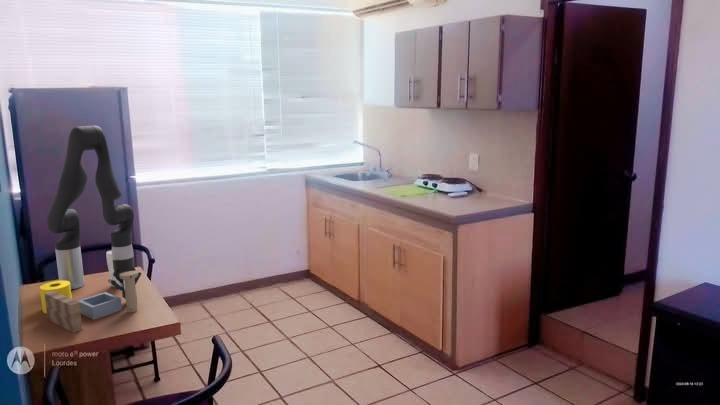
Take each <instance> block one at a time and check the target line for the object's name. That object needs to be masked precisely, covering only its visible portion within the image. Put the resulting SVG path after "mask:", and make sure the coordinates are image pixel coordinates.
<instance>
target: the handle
mask: <svg viewBox="0 0 720 405" xmlns="http://www.w3.org/2000/svg"><path fill="white" fill-rule="evenodd" d="M138 272H139V271H138V270H136V271H128V272H123V273H121V274H120V278H121V279H123V280H125V297H126V299H125V303H126V304H125V305H126V309H127V312H128V313H135V312H136V311H137V312H138V294H137V289H136V285H135V278H136V277H137V276H138V275H139V274H138Z"/></svg>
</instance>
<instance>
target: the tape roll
mask: <svg viewBox="0 0 720 405" xmlns="http://www.w3.org/2000/svg"><path fill="white" fill-rule="evenodd" d="M51 291H55V292H57V293H59V294H61V295H64V296H66V297H68V298H70V299H73V296H72V289H71V286H70V282H69V281H59V280H54V281H50V282H46V283H43V284H41V285H40V286H39V293H40V300H41V301H40V302H41V308H42V312H43V313H44V314H47V310H46V302H45V295H44V293H47V292H51Z"/></svg>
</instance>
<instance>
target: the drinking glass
mask: <svg viewBox="0 0 720 405" xmlns="http://www.w3.org/2000/svg"><path fill="white" fill-rule="evenodd" d="M105 255H106V264H107V268H108V273H109V278H110V279H111V278H112V277H113V273H114V269H113V260H112V249H110V250H107V251H106V254H105ZM116 280H117V279H116ZM116 283H117V284H119V281H118V280H117V282H116ZM119 285H120V284H119ZM111 287H112V288H115V287H114V286H113V285H111Z"/></svg>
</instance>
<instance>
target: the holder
mask: <svg viewBox="0 0 720 405" xmlns="http://www.w3.org/2000/svg"><path fill="white" fill-rule="evenodd" d="M76 301H77V302H79V305H80V313H81V315H82V316H85V317H87V318H89V319H91V320H97V319H100V318H102V317H105V316H109V315H111V314H114V313H117V312H120V311H122V310H123V306H122V297H120V296H116V295H114V294H111V293H109V292H106V291H104V292H102V293H98V294H95V295H90V296H89V297H86V298H82V299H79V300H76Z"/></svg>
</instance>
